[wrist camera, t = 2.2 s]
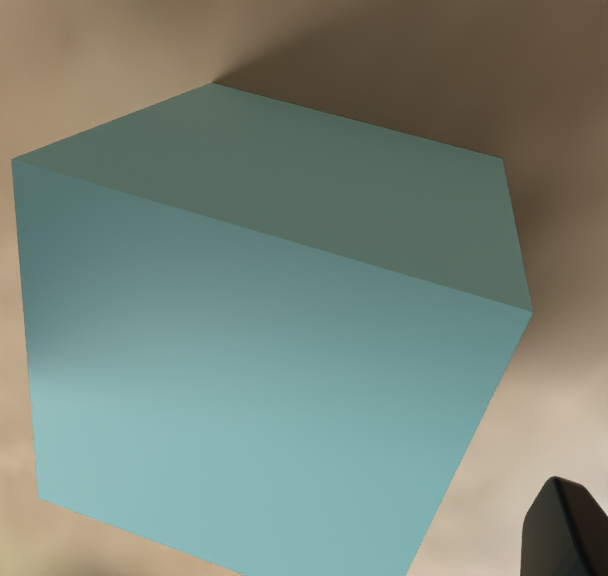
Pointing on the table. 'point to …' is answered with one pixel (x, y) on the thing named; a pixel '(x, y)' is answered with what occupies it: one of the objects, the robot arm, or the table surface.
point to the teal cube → (263, 328)
